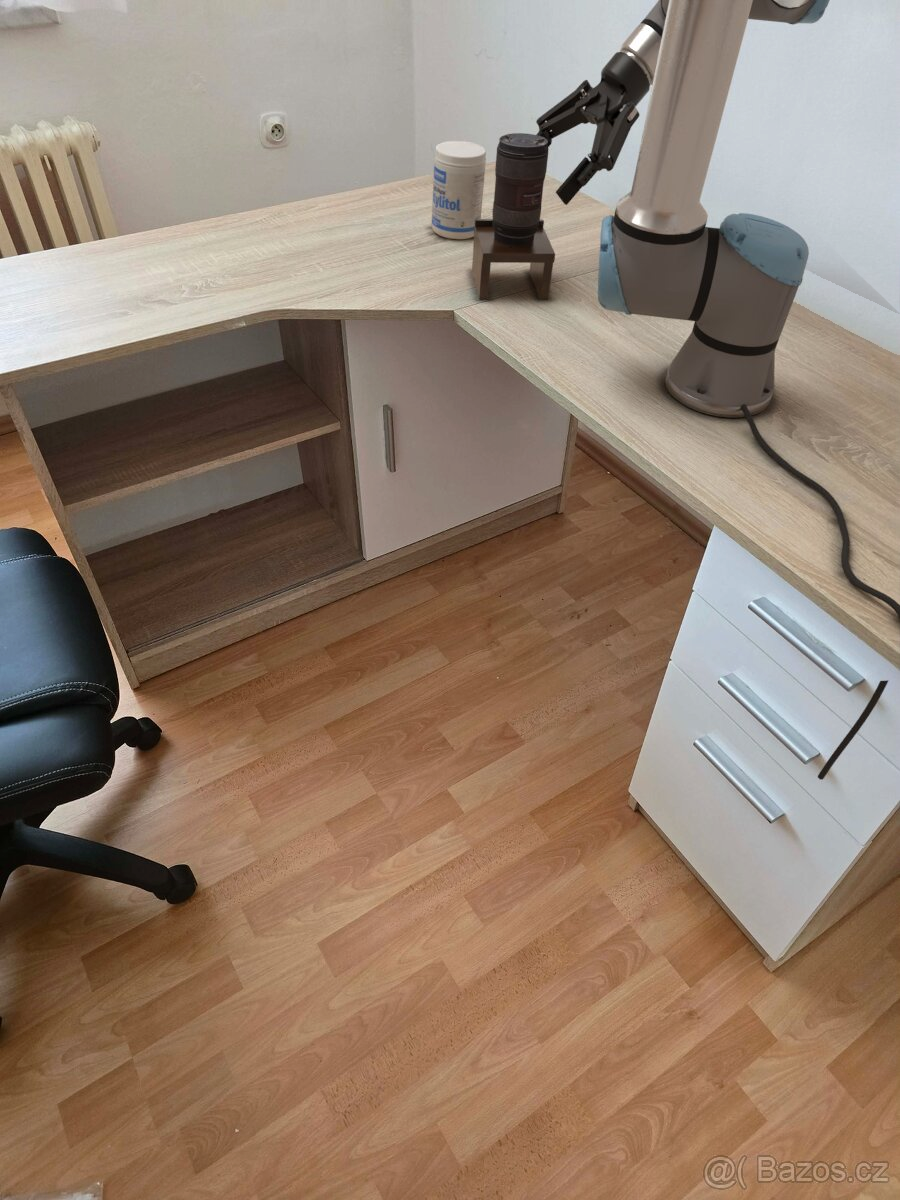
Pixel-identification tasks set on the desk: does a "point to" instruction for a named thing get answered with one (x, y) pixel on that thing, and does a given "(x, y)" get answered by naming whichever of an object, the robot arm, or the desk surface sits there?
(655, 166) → the robot arm
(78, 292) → the desk surface
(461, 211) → the supplement tub
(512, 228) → the camera lens
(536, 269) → the block
